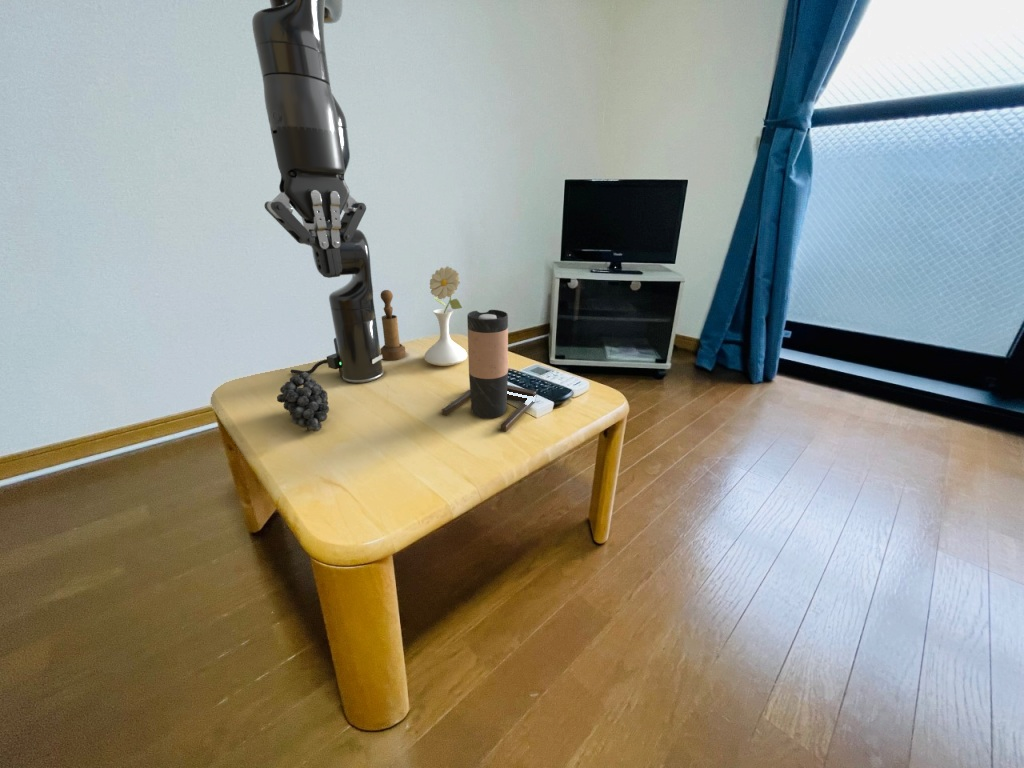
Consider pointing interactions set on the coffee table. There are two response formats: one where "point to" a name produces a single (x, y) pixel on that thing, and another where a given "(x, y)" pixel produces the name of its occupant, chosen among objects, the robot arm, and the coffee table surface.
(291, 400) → the fruit
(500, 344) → the travel mug
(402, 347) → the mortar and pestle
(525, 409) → the walnut stand
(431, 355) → the flower in vase
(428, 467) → the coffee table surface
